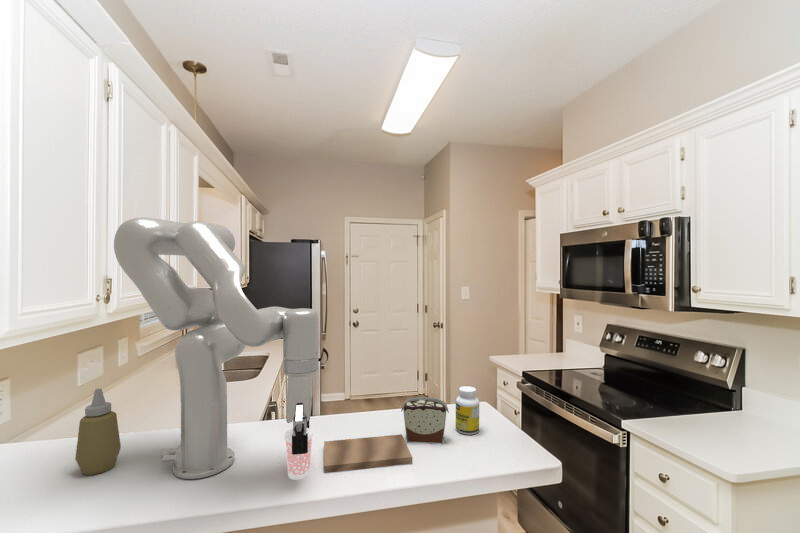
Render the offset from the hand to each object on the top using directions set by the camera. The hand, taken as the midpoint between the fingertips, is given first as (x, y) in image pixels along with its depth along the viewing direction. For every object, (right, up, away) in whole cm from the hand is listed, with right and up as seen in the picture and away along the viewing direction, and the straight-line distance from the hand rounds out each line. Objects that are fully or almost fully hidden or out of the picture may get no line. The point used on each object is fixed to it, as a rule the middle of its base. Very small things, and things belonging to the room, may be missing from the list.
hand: (301, 443), depth 84 cm
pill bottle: (+41, -7, +21) cm, 46 cm away
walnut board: (+14, -7, +8) cm, 17 cm away
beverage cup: (0, -7, 0) cm, 7 cm away
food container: (+29, -7, +17) cm, 34 cm away
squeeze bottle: (-46, -7, +2) cm, 47 cm away
